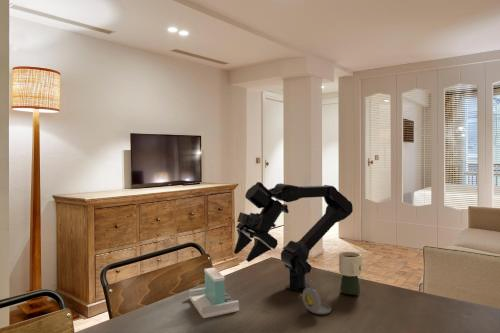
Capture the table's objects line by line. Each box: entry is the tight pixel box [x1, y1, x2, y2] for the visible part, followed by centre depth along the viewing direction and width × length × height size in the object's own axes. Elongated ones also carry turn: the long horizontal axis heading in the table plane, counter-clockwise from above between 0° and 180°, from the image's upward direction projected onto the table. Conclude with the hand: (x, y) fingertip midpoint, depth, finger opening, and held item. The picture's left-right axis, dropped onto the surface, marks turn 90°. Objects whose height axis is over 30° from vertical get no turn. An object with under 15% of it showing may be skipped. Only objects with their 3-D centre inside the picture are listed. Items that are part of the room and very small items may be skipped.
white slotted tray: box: [188, 286, 240, 319], centre depth 112 cm, size 11×15×3 cm
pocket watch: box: [301, 279, 332, 315], centre depth 106 cm, size 8×8×10 cm
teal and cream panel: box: [203, 267, 226, 305], centre depth 112 cm, size 3×10×8 cm, turn 25°
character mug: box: [338, 250, 362, 296], centre depth 119 cm, size 11×7×13 cm, turn 179°
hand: (241, 257), depth 114 cm, fingers open, 9 cm apart
